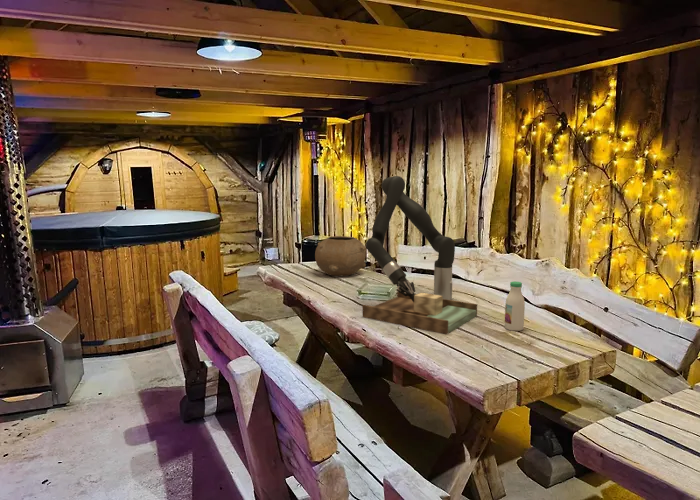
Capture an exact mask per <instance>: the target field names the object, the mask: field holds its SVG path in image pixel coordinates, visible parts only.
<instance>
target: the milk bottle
mask: <svg viewBox="0 0 700 500" xmlns="http://www.w3.org/2000/svg"><path fill="white" fill-rule="evenodd" d="M509 286H510V290H509V293H508V295H507V297H506V298H505V305H504V307H505V309H504V328H505V329H506V330H507V331H508V330H509V331H512V332H518V331H519V332H520V331H522V330H524V326H525V311H526V310H525V308H526V307H525V305H526V303H525V298H524V296H523V295H524V294H523V293H522V286H523V283H522V282H521V281H513V280H512V281H511V282H510V283H509Z"/></svg>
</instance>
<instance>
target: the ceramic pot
mask: <svg viewBox="0 0 700 500" xmlns="http://www.w3.org/2000/svg"><path fill="white" fill-rule="evenodd" d="M314 252H315V253H314V258H315V263H316V265H317V267H318V269H319V270H321V271H322V272H323V273H325V274H327V275H329V276H331V277H347V276H348V277H349V276H353V274H356V273H357V272H358V271H360V270H361V269H364V268H366V266H367V264H366V262H365V261H366V254H367V253H366V245H364V244H363V242H362V241H361V240H360V239H358V238H356V237H354V236H346V235H345V236H342V235H335V236H328V237H326V238H325V239H323V240H322V241H318V243H317V246H316V248H315V251H314Z"/></svg>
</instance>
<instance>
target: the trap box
mask: <svg viewBox="0 0 700 500" xmlns="http://www.w3.org/2000/svg"><path fill="white" fill-rule="evenodd" d="M414 294H415V293H414ZM416 294H417V293H416ZM416 294H415V295H416ZM396 296H397V297H394V298H391V299H389V300H385V301H384V302H382V303H378V304H376V305H366V304H362V318H366V319H369V320H376V321H381V322H385V323H390V324H394V325H400V326H405V327H410V328H413V329H414V328H415V329H420V330H425V331H428V332H433V333H438V334H444V335H448V334H449V333H451V332H454V331H455V330H456V329H457V328H459V327H461V326H463V325H464V324H466V323H467V322H469V321H471V320H473V319H475V318H476V317H477V316H478V304H477V303H472V302H466V301H465V302H464V301H458V300H453V299H452V300H447V299H443V303H442V312H441V313H439V314H438V315H431V314H426V313H420V312H415V311H414V302H413V301H412V300H411V298H410V297H408V296H407V297H406V296H404V295H403V294H401V293H399V292H398V291H397V295H396Z"/></svg>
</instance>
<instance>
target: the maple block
mask: <svg viewBox="0 0 700 500" xmlns="http://www.w3.org/2000/svg"><path fill="white" fill-rule="evenodd" d="M442 303H443V296H440V295H434V293H427V292H425V293H424V292H418V293H416V295H414V311H415V312H420V313H426V314H431V315H438V314H439V313H441V312H442Z"/></svg>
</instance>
